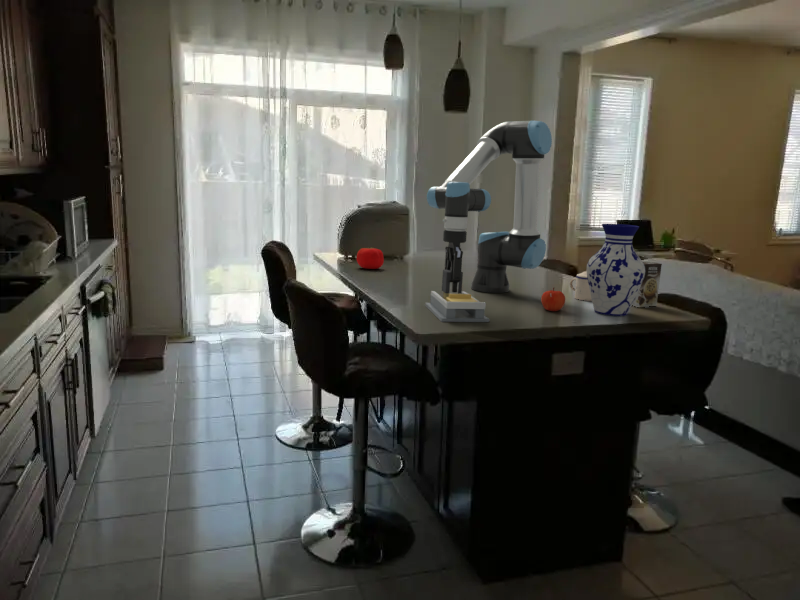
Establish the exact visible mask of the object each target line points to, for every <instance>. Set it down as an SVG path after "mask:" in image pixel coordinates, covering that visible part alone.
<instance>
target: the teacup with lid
mask: <svg viewBox="0 0 800 600" xmlns="http://www.w3.org/2000/svg"><path fill="white" fill-rule="evenodd" d="M574 281H575V288H574V286H573V285H574V284H573V282H574ZM569 287H570V290H572V291H573V292H574V299H576V300H578V299H579V301H583V300H584V301H585V302H592V298H591V293H590V289H589V284H588V278H587V269H586V270H585V271H582V272H580V273H577V274H576V276H575V277H574V278H571V279H570V281H569ZM584 301H583V302H584Z"/></svg>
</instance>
